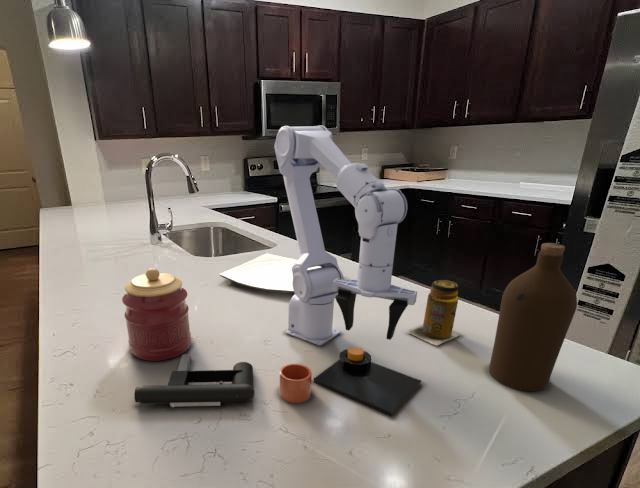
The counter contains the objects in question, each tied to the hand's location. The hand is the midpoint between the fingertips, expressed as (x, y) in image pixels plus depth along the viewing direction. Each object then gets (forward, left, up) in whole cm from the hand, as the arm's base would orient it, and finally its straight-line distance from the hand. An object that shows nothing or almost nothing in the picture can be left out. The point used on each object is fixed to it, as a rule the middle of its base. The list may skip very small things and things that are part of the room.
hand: (369, 332), depth 77 cm
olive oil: (+23, +16, -8) cm, 29 cm away
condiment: (+5, +23, -8) cm, 24 cm away
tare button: (-2, -1, -6) cm, 6 cm away
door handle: (-20, -24, -8) cm, 33 cm away
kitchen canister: (-37, -20, -8) cm, 43 cm away
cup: (-5, -15, -8) cm, 18 cm away
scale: (+3, -4, -8) cm, 9 cm away
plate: (-45, +30, -8) cm, 55 cm away
